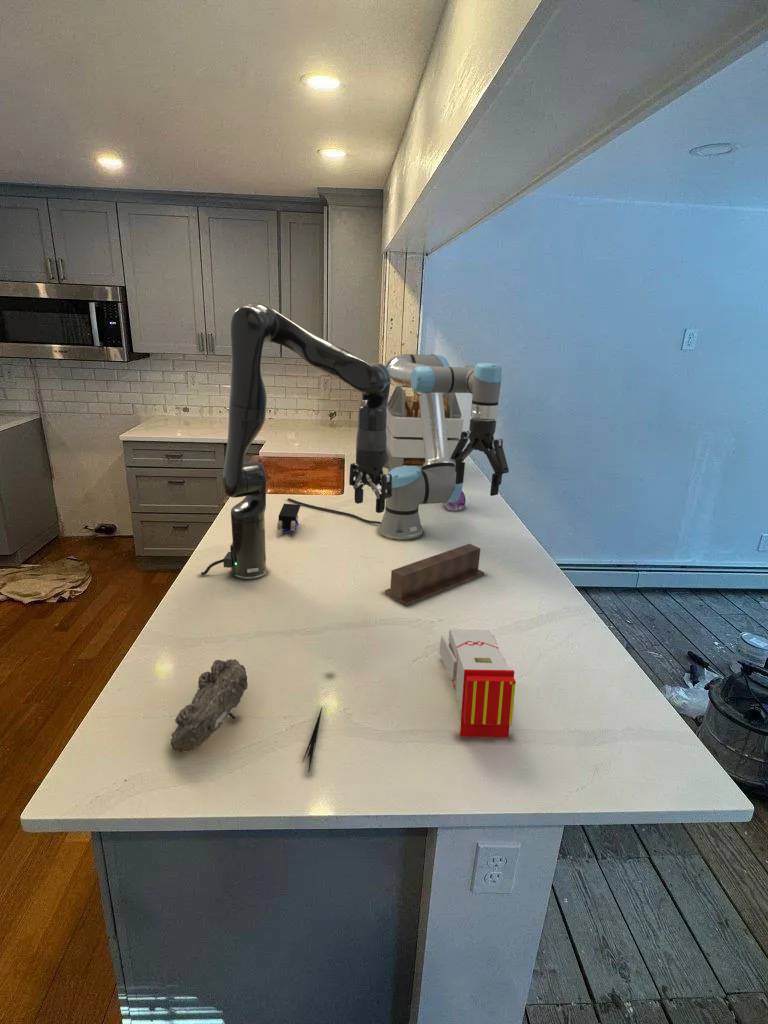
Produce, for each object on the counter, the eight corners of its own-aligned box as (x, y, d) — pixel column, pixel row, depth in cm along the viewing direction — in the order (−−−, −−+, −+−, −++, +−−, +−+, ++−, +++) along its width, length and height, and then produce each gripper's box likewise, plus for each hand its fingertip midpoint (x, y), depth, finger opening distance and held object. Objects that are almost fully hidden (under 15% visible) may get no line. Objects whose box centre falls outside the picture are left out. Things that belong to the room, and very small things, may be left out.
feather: (331, 679, 122) (336, 673, 122) (307, 777, 96) (313, 769, 95) (324, 675, 122) (329, 669, 121) (298, 772, 95) (304, 764, 95)
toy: (489, 613, 130) (525, 677, 101) (485, 667, 133) (518, 744, 104) (437, 612, 130) (457, 676, 101) (434, 666, 133) (453, 743, 103)
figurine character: (296, 541, 193) (301, 521, 206) (295, 521, 189) (301, 502, 203) (276, 540, 193) (283, 520, 206) (275, 520, 189) (282, 501, 203)
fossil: (195, 660, 117) (247, 628, 112) (227, 691, 120) (279, 661, 115) (146, 746, 98) (206, 711, 93) (185, 779, 101) (245, 748, 96)
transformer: (381, 463, 289) (385, 382, 275) (444, 464, 292) (450, 384, 279) (389, 482, 257) (393, 392, 243) (459, 483, 261) (467, 394, 247)
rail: (406, 606, 152) (408, 579, 149) (384, 593, 158) (385, 567, 155) (483, 574, 172) (486, 550, 169) (461, 564, 178) (463, 541, 175)
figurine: (452, 513, 222) (455, 476, 217) (438, 505, 231) (441, 469, 226) (471, 510, 227) (475, 474, 221) (457, 502, 235) (460, 467, 230)
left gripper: (342, 442, 144) (341, 502, 149) (378, 454, 134) (375, 518, 139) (365, 439, 148) (363, 497, 154) (401, 450, 138) (398, 512, 144)
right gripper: (443, 412, 170) (437, 480, 177) (510, 427, 152) (501, 502, 159) (459, 410, 174) (454, 477, 182) (527, 425, 157) (517, 497, 164)
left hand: (369, 507), depth 146 cm, fingers open, 8 cm apart
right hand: (476, 489), depth 170 cm, fingers open, 13 cm apart
